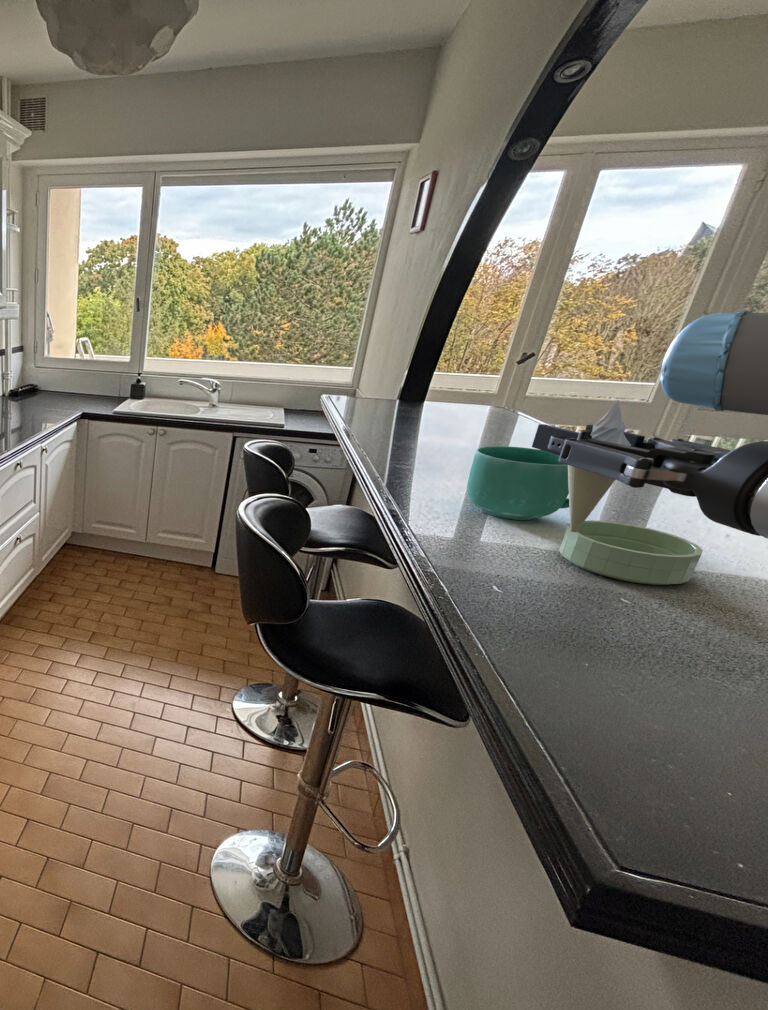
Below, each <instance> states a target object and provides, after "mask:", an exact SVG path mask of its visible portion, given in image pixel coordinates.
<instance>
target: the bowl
mask: <svg viewBox="0 0 768 1010" xmlns="http://www.w3.org/2000/svg"><path fill="white" fill-rule="evenodd" d="M703 552H704V551H703V549H702V548H701V547H700V546H699V545H698V544H696V543H694V542H692V541H691V540H688V539H686V538H684V537H680V536H677V535H674V534H672V533H668V532H664V531H661V530H656V529H654V528H650V527H646V526H645V527H644V526H640V525H634V524H630V523H622V522H616V521H615V522H614V521H606V520H605V521H604V520H585V521H584V522H583V524H582V525H581V526H580V528H579V529H578V530H577V532H571V528H570V523H569V524H568V525H567V527H566V530H565V532H564V536H563V538H562V541H561V543H560V547H559V553H560V555H561V556H562V557H563V558H565V559H566V560H567V561H569V562H570V563H572V564H573V565H576V566H578V567H580V568H582V569H584V570H585V571H588V572H591V573H595V574H597V575H600V576H604V577H607V578H610V579H611V578H612V579H616V580H619V581H625V582H630V583H635V584H642V585H643V584H644V585H651V586H652V585H653V586H655V585H656V586H667V585H668V586H669V585H679V584H680V585H681V584H684V583H688V582H690V580H691V578H692V576H693V574H694V572H695V570H696V567H697V565H698V563H699V561H700V559H701V556H702V555H703Z"/></svg>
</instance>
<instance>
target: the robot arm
mask: <svg viewBox="0 0 768 1010" xmlns="http://www.w3.org/2000/svg"><path fill="white" fill-rule="evenodd" d="M659 380H660V386H661V388H662V391H663V393H664V394H665V396H667V397H668V399H670V400H673V401H674V402H677V403H680V404H686V405H691V406H698V407H702V408H703V407H704V408H709V409H714V410H715V411H716V412H725V411H730V412H738V413H747V414H754V415H761V416H762V415H764V416H768V311H767V312H750V311H749V310H740V311H737V312H728V313H727V312H725V313H724V312H723V313H722V312H721V313H710V314H706V315H704V316H701V317H699V318H697V319H694V320H693V321H692V322H690V323H688V324H687V325H686V327H684V328H683V329H682V330H681V331H680V332H679V333H678V334H677V336H676V337H675V338H674V339H673V341H672V342H671V344H670V345H669V347H668V348H667V351H666V353H665V355H664V358H663V360H662V364H661V375H660V379H659ZM593 425H594V424H586V426H585V429H584V430H579V432H578V431H574V430H570V429H566V428H561V427H558V426H553V425H548V424H544V423H543V424H542V423H539V424H538V425H537V428H536V432H535V435H534V438H533V441H532V444H531V448H532V449H539V450H543V451H546V452H550V453H553V454H556V455H560V457H559V460H558V462H561V463H562V464H567V465H570V466H573V467H577V468H580V469H583V470H586V471H590V472H593V473H596V474H599V475H603V476H606V477H609V478H612V479H616V480H615V481H618V482H620V483H622V484H624V485H626V486H630V488H635V489H639V488H640V489H641V488H644V487H645V485H646V484H647V485H649V486H655V487H659V488H664V489H668V490H669V491H670V492H671V493H673V494H676V495H681V496H685V497H692V498H696V500H697V502H698V507H699V509H700V510H701V512H702V514H703V515H704V516H705V517H706V518H707V519H709V520H710V521H712V522H714V523H716V524H720V525H723V526H725V527H728V528H731V529H735V530H737V531H741V532H743V533H747V534H750V535H753V536H757V537H763V538H764V539H767V540H768V440H760V441H754V442H753V441H752V442H749V443H746V444H743V445H740V446H738V447H736V448H734V449H732V450H731V449H726V448H721V447H717V446H712V445H708V444H703V443H700V442H699V443H698V442H694V441H691V440H685V439H683V438H679V437H678V438H671V439H670V440H666V439H663V438H661V437H657V436H654V437H648V438H647V439H646V436H645V435H641V434H637V433H633V432H628V431H624V435H625V437H626V439H627V440H628V441H629V443H630V444H631V446H626V445H621V444H616V443H611V442H606V441H600V440H595V439H592V436H591V432H592V431H593Z"/></svg>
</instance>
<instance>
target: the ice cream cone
mask: <svg viewBox="0 0 768 1010" xmlns="http://www.w3.org/2000/svg"><path fill="white" fill-rule="evenodd" d="M592 425H593V431H592V432H591V436H592V439H595V440H600V441H606V442H611V443H616V444H621V445H626V446H631V444H630V443H629V441H628V440H627V439H626V437H625V435H624V432H626V429H627V426H626V425H625V422H624V421H623V417H622V413H621V406H620V400H619V399H618V400H616V401H615V402H614V403H613V404H612V406H611V407H610V408H609V410H607V412H606V413H605V414H604V415H603V416H602V417H601V418H600V419H599V420H598V421H597V422H596V423H594V424H592ZM615 481H617V480H616V479H612V478H609V477H606V476H603V475H599V474H596V473H593V472H590V471H586V470H583V469H580V468H577V467H573V466H570V465H568V486H569V494H568V498H569V524H570V528H571V532H577V530H578V529H579V528H580V526H581V525H582V524H583V522H584V521H587V519H588V518H589V516H590V515H591V513H592V512H593V511H594V510H595V508H596V507H597V506H598V504H599V503H600V501H601V500H602V499H603V497H604V496H605V494H606V493H607V492H608V491H609V489H610V488H611V486H612V485H613V484H614V483H615Z"/></svg>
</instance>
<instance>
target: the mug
mask: <svg viewBox="0 0 768 1010" xmlns="http://www.w3.org/2000/svg"><path fill="white" fill-rule="evenodd" d="M559 457H560V455H556V454H553V453H550V452H546V451H543V450H540V449H536V448H532V447H531V448H530V447H522V446H506V445H505V446H503V445H493V446H483V447H478V448H477V449H476V450H475V452H474V455H473V459H472V462H471V466H470V470H469V474H468V477H467V483H466V495H467V497H468V499H469V500H470V501H471V503H472V504H474V505H475V506H476V507H477V508H478V509H479V508H480V510H481V511H482V512H483V513H486V514H487V515H490V516H494V517H497V518H502V519H507V520H515V521H532V520H535V519H538V518H542V517H546V516H549V515H552V514H554V513H556V512H557V511H559V510H562V509H568V508H569V509H570V507H569V486H568V465H567V464H562V463H561V462H558V460H559Z"/></svg>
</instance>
